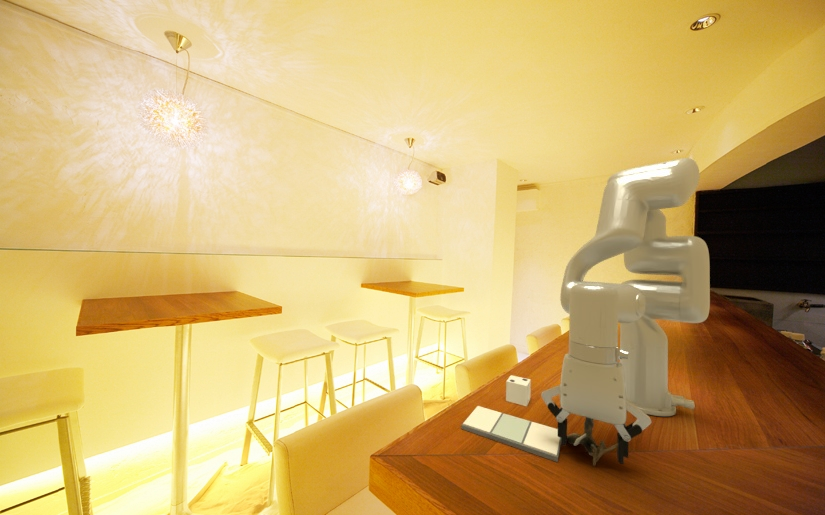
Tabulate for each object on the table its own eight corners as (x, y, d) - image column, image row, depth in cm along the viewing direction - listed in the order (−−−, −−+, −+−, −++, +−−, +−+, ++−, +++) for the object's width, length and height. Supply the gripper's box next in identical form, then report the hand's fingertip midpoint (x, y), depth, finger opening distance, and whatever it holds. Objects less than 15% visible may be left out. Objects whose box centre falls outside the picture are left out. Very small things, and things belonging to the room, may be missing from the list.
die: (530, 398, 75) (530, 379, 75) (526, 406, 71) (527, 385, 71) (510, 393, 78) (510, 374, 78) (505, 401, 73) (506, 380, 74)
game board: (562, 434, 59) (562, 429, 59) (557, 462, 51) (557, 456, 51) (477, 409, 69) (477, 404, 69) (461, 428, 60) (461, 423, 60)
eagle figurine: (630, 463, 49) (600, 424, 58) (610, 430, 48) (583, 396, 57) (588, 481, 50) (565, 440, 59) (568, 449, 50) (548, 413, 58)
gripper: (650, 356, 51) (649, 457, 51) (543, 340, 60) (541, 425, 60) (658, 368, 45) (657, 484, 44) (537, 348, 54) (535, 443, 53)
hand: (590, 449), depth 52 cm, fingers closed on eagle figurine, 8 cm apart
